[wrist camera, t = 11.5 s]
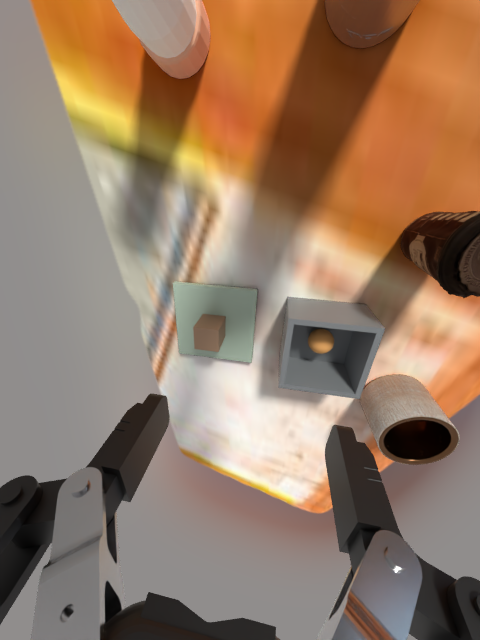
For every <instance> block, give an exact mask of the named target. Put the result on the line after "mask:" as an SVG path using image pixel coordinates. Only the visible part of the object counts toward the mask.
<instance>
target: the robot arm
mask: <svg viewBox="0 0 480 640" xmlns="http://www.w3.org/2000/svg"><path fill="white" fill-rule="evenodd" d="M418 2H419V0H325V9H326V15H327V19H328V22H329V25H330V27H331V29H332V31H333V32H334V34H335V35H336V37H337V38H338V39H339V40H341V41H342V42H343V43H344V44H346V45H349V46H351V47H356V48H366V47H371V46H374V45H376V44H378V43H381V42H383V41H384V40H385V39H387V38H388V37H390V36H391V35H392V34H393V33H394V32H395V31H397V30H398V29H399V28H400V27H401V26H402V24H403V23H404V22H405V20H406V19H407V18H408V16H409V15H410V14H411V12H412V11H413V9H414V8H415V6H416V5H417V3H418ZM168 423H169V410H168V403H167V397H166V396H163V395H157V394H150V395H148V397H147V398H146V400H145V401H144V403H143V404H141V403H137V404H136V405H134V406H133V407H132V408H130V409H129V410H128V411H127V412H126V414H125V415H124V416H123V418H122V419H121V421H120V423H118V425H117V426H116V427H115V430H114V431H113V432H112V433H111V434H110V436H109V437H108V439H107V440H106V441H105V443H104V444H103V446H102V447H101V448H100V450H99V451H98V453H97V454H96V455H95V457H94V458H93V459H92V461H91V462H90V463H89V465H88V466H87V467H86V468H83V469H80V470H78V471H76V472H75V473H73V474H72V475H71V476H70V477H68V478H67V479H62V480H56V481H49V482H44V483H38V482H37V480H36V479H35V478H34V477H32V476H21V477H18V478H15V479H13V480H11V481H9V482H7V483H6V484H5V485H3V486H2V487H1V488H0V624H1V623H2V621H3V619H4V618H5V616H6V615H7V613H8V611H9V609H10V608H11V606H12V605H13V603H14V602H15V600H16V598H17V597H18V595H19V594H20V592H21V590H22V589H23V587H24V585H25V584H26V582H27V580H28V579H29V577H30V576H31V574H32V572H33V571H34V569H35V567H36V566H37V564H38V563H39V561H40V559H41V558H42V556H43V555H44V553H45V551H46V550H47V548H48V547H49V545H50V543H52V548H51V556H50V560H49V562H48V564H47V565H46V566H44V568H43V570H42V572H41V576H40V579H39V585H38V592H37V599H36V606H35V613H34V620H33V627H32V634H31V640H280V639H279V638H277V637H276V636H275V634H276V627H274V626H270V625H267V624H263V623H260V622H256V621H252V620H249V619H245V618H239V619H232V620H225V621H218V622H211V623H210V622H206V621H204V620H203V619H202V618H200V617H199V616H198V615H197V614H195V613H194V612H193V611H191V610H190V609H189V608H188V607H186V606H185V605H184V604H182V603H181V602H180V601H179V600H176V599H172V598H168V597H165V596H161V595H157V594H154V593H150V592H149V593H148V595H147V598H146V601H141V602H138V603H135V604H133V605H131V606H129V607H127V608H125V596H124V585H123V579H122V574H121V569H120V559H119V544H118V529H117V528H118V527H117V513H116V510H117V508H118V506H119V504H120V503H121V501H122V500H123V501H128V502H131V500H132V498H133V496H134V494H135V492H136V490H137V488H138V486H139V484H140V482H141V480H142V478H143V476H144V474H145V472H146V470H147V467H148V466H149V464H150V461H151V459H152V458H153V455H154V453H155V451H156V449H157V447H158V445H159V443H160V441H161V439H162V437H163V435H164V433H165V431H166V429H167V427H168ZM325 460H326V467H327V473H328V479H329V486H330V492H331V499H332V505H333V512H334V518H335V525H336V531H337V537H338V543H339V550H340V552H345V553H349V555H350V560H351V568H350V570H349V572H348V574H347V576H346V578H345V580H344V583H343V585H342V587H341V589H340V591H339V593H338V596H337V598H336V600H335V602H334V604H333V607H332V609H331V611H330V613H329V615H328V617H327V619H326V622H325V623H324V625H323V627H322V629H321V630H320V632H319V634H318V636H317V638H316V640H407V638H408V634H411V635H412V636H413V637H415V638H416V639H418V640H480V581H479V580H477V579H474V578H472V577H461V578H459V579H458V580H456V579H454V578H453V577H451V576H449V575H447V574H446V573H444V572H442V571H441V570H439V569H437V568H435V567H434V566H432V565H430V564H428V563H427V562H425V561H424V560H423V559H421V558H420V557H419V556H418V555H417V554H416V553H414V551H413V550H412V548H411V547H410V546H409V545H408V543H407V542H406V541H405V540H404V539H403V537H402V535H401V533H400V531H399V529H398V526H397V523H396V521H395V518H394V515H393V512H392V509H391V506H390V503H389V500H388V497H387V494H386V491H385V488H384V485H383V483H382V479H381V477H380V473H379V472H378V468H377V465H376V462H375V459H374V456H373V454H372V453H371V451H370V450H369V449H368V447H367V446H366V445H365V443H361V442H357V441H356V437H355V434H354V431H353V429H352V428H350V427H344V426H338V425H333V427H332V430H331V433H330V435H329V438H328V441H327V444H326V448H325Z"/></svg>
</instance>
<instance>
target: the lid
mask: <svg viewBox="0 0 480 640" xmlns="http://www.w3.org/2000/svg"><path fill="white" fill-rule="evenodd" d="M173 290H174V301H175V312H176V323H177V334H178V345H179V353H181V354H189V355H196V356H204V357H212V358H219V359H227V360H234V361H242V362H249V363H252V354H253V342H254V329H255V316H256V303H257V290H258V289H251V288H240V287H230V286H219V285H208V284H197V283H186V282H176V281H175V282H174V283H173Z"/></svg>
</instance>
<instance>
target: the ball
mask: <svg viewBox="0 0 480 640" xmlns="http://www.w3.org/2000/svg"><path fill="white" fill-rule="evenodd" d="M308 345H309V347H310V348H311V349H312V350H313V351H314V352H316V353H319V354H323V353H327V352H329V351H330V350H331V349H332V348H333V345H334V338H333V335H332V334H331V333H330V332H329V331H328V330H325V329H316V330H314V331H312V332H311V333H310V335H309V337H308Z"/></svg>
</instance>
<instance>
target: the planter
mask: <svg viewBox="0 0 480 640" xmlns="http://www.w3.org/2000/svg"><path fill="white" fill-rule="evenodd" d="M361 405H362V408H363V411H364V413H365V416H366V418H367V420H368V423H369V425H370V428H371V430H372V432H373V435H374V438H375V440H376V443H377V445H378V448H379V450H380V451H381V452H382V454H383V455H385V456H386V457H387V458H389V459H391V460H393V461H395V462H399V463H402V464H409V465H422V464H428V463H432V462H436V461H439V460H441V459H443V458H445V457H447V456H448V455H450V454H451V453H452V452H453V451H454V450H455V449H456V448H457V446H458V444H459V433H458V431H457V429H456V428H455V427H454V425H453V424H452V423H451V421H450V420H449V419H448V417H447V416H446V415H445V413H444V412H443V411H442V409H441V408H440V407H439V405H438V404H437V402H436V401H435V400H434V398H433V397H432V396H431V394H430V393H429V392H428V390H427V389H426V388H425V386H424V385H423V384H422V383H421V382H419V381H418V380H417V379H415V378H413V377H410V376H406V375H387V376H383V377H380V378H378V379H376V380H374V381H372V382H371V383H369V384H368V385H367V386H366V387H365V388H364V390H363V392H362V394H361Z"/></svg>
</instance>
